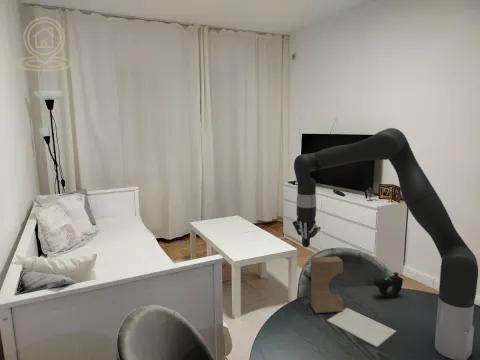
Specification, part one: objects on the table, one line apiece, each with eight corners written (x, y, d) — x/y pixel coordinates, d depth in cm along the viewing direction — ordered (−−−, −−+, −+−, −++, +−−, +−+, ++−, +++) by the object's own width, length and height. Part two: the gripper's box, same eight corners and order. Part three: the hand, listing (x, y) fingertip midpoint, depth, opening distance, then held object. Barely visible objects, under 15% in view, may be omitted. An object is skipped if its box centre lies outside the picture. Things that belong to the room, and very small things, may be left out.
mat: (396, 331, 117) (396, 330, 117) (377, 347, 110) (377, 346, 110) (347, 308, 132) (347, 307, 132) (327, 321, 125) (327, 320, 125)
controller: (404, 297, 140) (405, 274, 138) (377, 301, 137) (378, 278, 136) (397, 292, 144) (398, 270, 142) (371, 296, 142) (372, 273, 140)
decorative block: (338, 305, 135) (338, 256, 133) (343, 312, 129) (343, 260, 128) (311, 307, 134) (310, 257, 133) (315, 313, 129) (314, 262, 127)
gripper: (326, 206, 131) (325, 248, 134) (299, 200, 141) (299, 240, 144) (313, 209, 126) (312, 253, 129) (287, 203, 136) (287, 244, 139)
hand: (305, 246), depth 136 cm, fingers closed
